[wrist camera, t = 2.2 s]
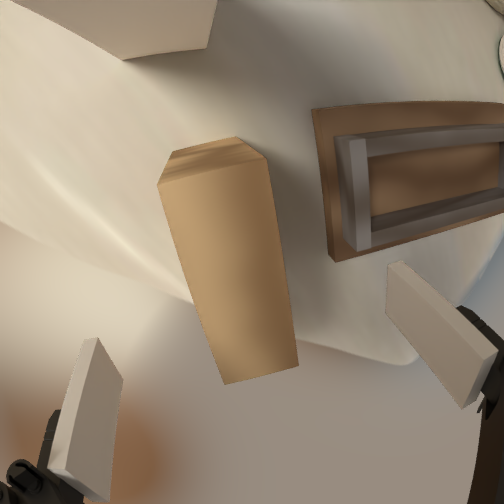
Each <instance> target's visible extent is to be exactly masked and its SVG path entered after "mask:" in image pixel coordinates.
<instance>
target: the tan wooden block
mask: <svg viewBox="0 0 504 504" xmlns="http://www.w3.org/2000/svg"><path fill="white" fill-rule="evenodd" d="M157 187H158V190H159V194H160V197H161V201H162V204H163V208H164V211H165V215H166V218H167V221H168V225H169V228H170V231H171V234H172V238H173V241H174V244H175V247H176V250H177V253H178V257H179V260H180V263H181V266H182V269H183V272H184V275H185V278H186V281H187V284H188V287H189V290H190V293H191V296H192V299H193V301H194V304H195V307H196V310H197V313H198V315H199V318H200V321H201V324H202V327H203V329H204V332H205V335H206V338H207V340H208V343H209V345H210V348H211V351H212V354H213V356H214V358H215V361H216V364H217V367H218V369H219V372H220V374H221V377H222V379H223V382H224V384H225V385H226V384H230V383H235V382H239V381H243V380H248V379H252V378H256V377H260V376H263V375H267V374H271V373H275V372H278V371H282V370H285V369H289V368H293V367H296V366H299V364H298V357H297V349H296V341H295V334H294V327H293V320H292V313H291V306H290V300H289V293H288V286H287V280H286V273H285V267H284V260H283V254H282V248H281V241H280V235H279V229H278V223H277V217H276V211H275V205H274V199H273V193H272V187H271V182H270V176H269V170H268V165H267V159H266V158H265V157H264V156H262V155H261V154H260V153H258V152H257V151H255V150H254V149H253V148H251V147H250V146H248V145H247V144H246V143H244V142H243V141H241V140H240V139H239V138H237V137H236V136H235V137H231V138H226V139H222V140H217V141H213V142H209V143H204V144H200V145H196V146H192V147H188V148H184V149H180V150H176V151H173V152H172V154H171V156H170V158H169V160H168V162H167V164H166V166H165V168H164V171H163V173H162V175H161V177H160V179H159V181H158V184H157Z"/></svg>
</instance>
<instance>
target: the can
mask: <svg viewBox="0 0 504 504" xmlns="http://www.w3.org/2000/svg"><path fill="white" fill-rule="evenodd" d="M499 60H500V65H501V68H502V71H503V73H504V35H503V37H502V38H501V41H500V46H499Z"/></svg>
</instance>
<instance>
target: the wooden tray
mask: <svg viewBox="0 0 504 504" xmlns="http://www.w3.org/2000/svg"><path fill="white" fill-rule="evenodd" d="M311 111H312V117H313V124H314V130H315V137H316V144H317V152H318V159H319V167H320V175H321V183H322V192H323V201H324V211H325V221H326V232H327V243H328V255H329V256H330V257H331V258H332V259H333V261H334V262H335V263H336V262H339V261H343V260H347V259H350V258H354V257H358V256H361V255H365V254H368V253H372V252H375V251H379V250H382V249H386V248H389V247H393V246H396V245H400V244H403V243H407V242H410V241H413V240H417V239H420V238H423V237H427V236H430V235H433V234H437V233H440V232H443V231H447V230H450V229H453V228H456V227H460V226H463V225H466V224H469V223H473V222H476V221H479V220H482V219H485V218H488V217H491V216H495V215H498V214H501V213H504V104H502V103H493V102H473V101H406V102H385V103H370V104H358V105H347V106H337V107H328V108H320V109H312V110H311Z"/></svg>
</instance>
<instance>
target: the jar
mask: <svg viewBox="0 0 504 504" xmlns="http://www.w3.org/2000/svg"><path fill="white" fill-rule="evenodd" d="M486 1H487V2H488V3H489V4H490V5H491V6H492V7H493V8H494V9H495V10H497V11H498V12H500V13H501V14H503V15H504V0H486Z"/></svg>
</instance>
